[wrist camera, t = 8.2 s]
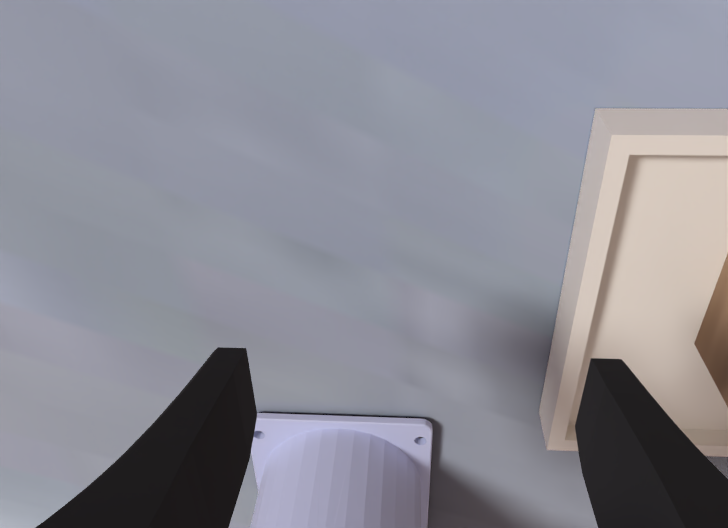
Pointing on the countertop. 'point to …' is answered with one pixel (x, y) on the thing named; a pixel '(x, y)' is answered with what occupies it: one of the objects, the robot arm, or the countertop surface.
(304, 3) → the countertop surface
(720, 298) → the walnut block
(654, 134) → the serving dish
